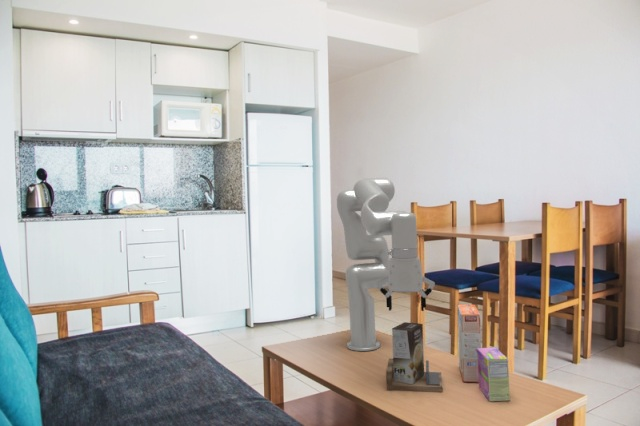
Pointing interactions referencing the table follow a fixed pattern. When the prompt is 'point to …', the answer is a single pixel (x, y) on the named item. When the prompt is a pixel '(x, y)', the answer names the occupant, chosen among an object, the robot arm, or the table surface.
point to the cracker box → (469, 342)
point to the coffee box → (408, 352)
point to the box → (493, 374)
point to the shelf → (417, 386)
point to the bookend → (432, 376)
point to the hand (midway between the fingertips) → (406, 309)
